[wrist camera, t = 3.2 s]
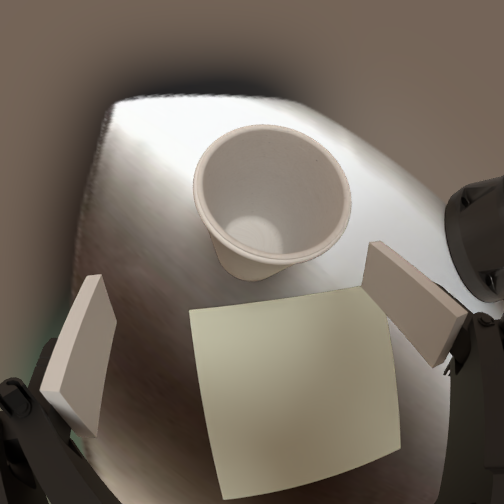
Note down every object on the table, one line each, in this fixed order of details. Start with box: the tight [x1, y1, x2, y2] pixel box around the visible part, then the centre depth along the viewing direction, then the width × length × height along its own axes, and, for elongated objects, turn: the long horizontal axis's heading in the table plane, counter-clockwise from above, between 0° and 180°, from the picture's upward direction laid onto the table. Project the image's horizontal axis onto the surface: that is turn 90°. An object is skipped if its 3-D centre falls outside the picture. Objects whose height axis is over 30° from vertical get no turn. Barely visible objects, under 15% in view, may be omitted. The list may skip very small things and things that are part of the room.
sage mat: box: [189, 286, 401, 500], centre depth 20 cm, size 16×16×1 cm
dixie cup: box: [193, 125, 351, 281], centre depth 19 cm, size 8×8×10 cm
